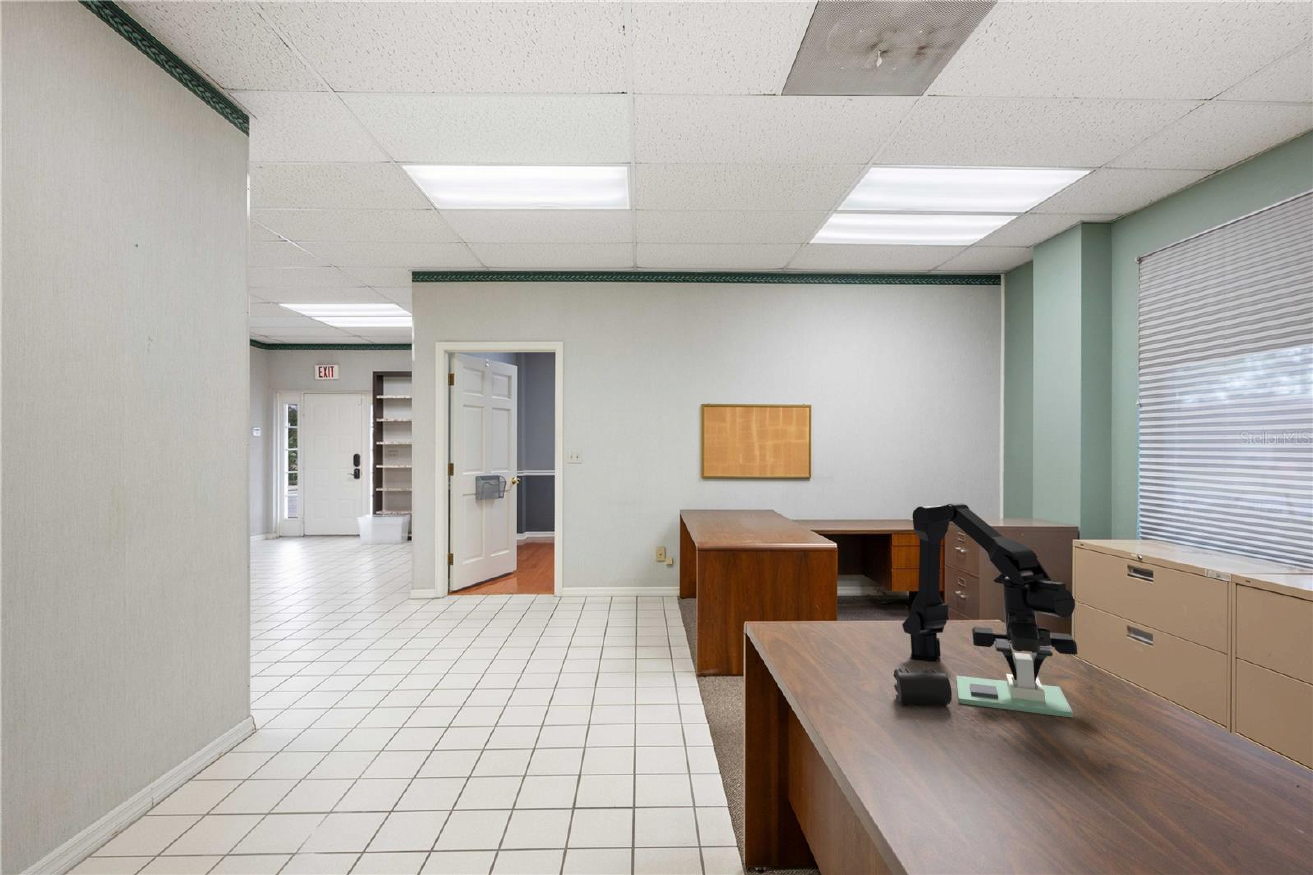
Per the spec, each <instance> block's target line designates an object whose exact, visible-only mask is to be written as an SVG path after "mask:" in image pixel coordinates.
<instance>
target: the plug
mask: <svg viewBox="0 0 1313 875" xmlns="http://www.w3.org/2000/svg"><path fill="white" fill-rule="evenodd" d="M1013 659H1014V664H1015V669H1016V675H1017V680H1015V682H1016V687H1018V688H1026V689H1035V682H1034V668H1033V660H1032V655H1031V653H1020V652H1013Z"/></svg>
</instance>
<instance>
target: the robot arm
mask: <svg viewBox="0 0 1313 875" xmlns="http://www.w3.org/2000/svg"><path fill="white" fill-rule="evenodd" d="M951 522H952V524H954V525H955V526H957V527H958V528H959V529H960V530H961V531H962V532H964V533H965V534H966V535H967V536H969V538H971V539H972V540H973V541H974V542H975V543H976V544H978V545H979V547H981V548H982V549H983V550H984V551H985V552H986V553H987V556H988V558H989V561H990V562H991V564H992V565H993V566H994V567H995V568H996V569H997V571H998V572H999V573H1000V574H999V575H998V576H997V577H995V578H994V579H993V582H994V583H996V584H998V585H999V584H1000V585H1002V589H1003V591H1002V592H1003V604H1004V605H1003V606H1004V608H1003V609H1004V621H1005V633H999V632H998V633H997V632H993V630H992V627H983V626H982V627H981V626H974V627H973V628H972V629H971V638H972V643H973V646H976V647H984V648H991V647H992V646H994V648H995V651H997V652H999V653H1002V655H1003V656H1004V658H1005V660H1006V661H1007V664H1008V667H1009V669H1010V671H1011V674H1012V675H1013V677H1014V679H1015V680H1017V675H1016V669H1015V664H1014V653H1013V650H1014V651H1015V652H1019V653H1020V652H1031V658H1032V660H1033V668H1034V682H1036V679H1037V677H1039V674H1040V673H1039V672H1040V669H1041V666H1042V664H1043V663H1044V661H1045V660H1046V659H1047V657H1053V652H1052V649H1053V648H1054V650H1055V651H1056V652H1058V654H1060V655H1062V654H1063V655H1072V656H1073V655H1074V656H1076V655H1078V644H1077V642H1076V640H1075V639H1074V637H1073V636H1072V635H1071V634H1069V633H1061V632H1060V633H1059V632H1051V631H1050V628H1049V627H1041V626H1040V627H1038V624H1037V614H1036V612H1037V613H1040V614H1045V615H1049V616H1053V617H1057V618H1061V619H1067V618H1069V617H1071V616H1072V615H1073V613H1074V610H1075V606H1076V600H1075V598H1074V596H1073V595H1072V592H1071V591H1070V590H1069V589H1067V587H1066V586H1067V584H1066V583H1065V582H1060V581H1058V582H1057V581H1055V582H1054V581H1052V579H1051V577H1050V576H1049V574H1048V573H1047V571H1046V570H1045V568H1044V566H1043V565H1042V564H1041V562H1040V561H1039V560H1038V556H1037V554H1036V552H1034V550H1032V549H1031V548H1029V547H1028V546H1025V545H1023V544H1022V543H1021V542H1019V541H1015V540H1013V539H1012V540H1011V539H1009V538H1006V536H1003V535H1002V534H1001V533H999V532H998V531H997V530H996V529H995V528H993V527H992V526H991V525H989V523H987V521H985V520H983V519H982V518H981V517H980V516H978V515H977V514H976V513H975V512H973V511H972V510H971V509H970V507H969V506H968V505H967V504H965V503H963V502H955V503H948V504H947V503H946V504H945V505H940V504H938V505H937V504H936V505H923V506H918V507H916V508H915V509H914V510H913V512H912V525H913V527H912V528H913V530H914V532H915V533H916V535H917V537H918V539H919V549H918V550H919V551H918V552H919V554H918V555H919V556H918V560H919V561H918V563H919V564H918V586H917V587H918V592H917V595H916V596H915V598H914V599H913V601H912V603H911V607H910V613H909V615H908V617H907V618H906V619H905V620H904V621H903V622H902V624H901V626H902V629H903V632H904V633H905V634H908V635H909V636H910V649H911V650H910V651H911V652H910V658H911V659H913V660H914V659H915V660H923V661H931V662H932V661H933V662H939V660H940V657H941V643H940V642H941V640H940V637H938V634H942V633H943V632H944V631H945V630H944V629H945V626H946V624H947V621H949V608H950V607H949V605H948V604H947V603H944V601H943V600H942V598H941V596H940V592H941V591H940V588H941V587H940V585H941V557H942V556H941V555H942V554H941V553H942V552H941V551H942V549H941V548H942V540H943V539H944V538H945V536H946V535H947V532H948V530H949V525H950V523H951Z"/></svg>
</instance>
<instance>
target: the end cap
mask: <svg viewBox="0 0 1313 875" xmlns="http://www.w3.org/2000/svg"><path fill="white" fill-rule="evenodd" d="M921 671H922V672H912V671H910V669H908V668H896V669H894V670H893V677H894V679H895V681H896V683H894V685H893V687H894V691H895V692H896V694H895V697H896V700H897V702H898V703H899V704H900V705H901V706H921V707H923V706H927V707H931V706H932V707H946V706H948V705H949V704H950V703H951V702H952V699H953V694H952V686H951V681H950V678H949V677H948V675H947V673H946V672H939V671H938V670H936V669H934V668H931V669H930V668H929V669H927V668H924V669H923V668H922V670H921Z"/></svg>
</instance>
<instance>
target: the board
mask: <svg viewBox="0 0 1313 875" xmlns="http://www.w3.org/2000/svg"><path fill="white" fill-rule="evenodd" d="M1005 675H1006V680H999V679H990V678H982V677H972V676H964V675H962V676H961V675H956V685H957V686H956V687H957V698H958V704H962V705H963V704H964V705H970V706H980V707H986V708H987V707H988V708H995V709H1000V710H1001V709H1003V710H1010V711H1019V712H1026V713H1034V714H1041V715H1048V716H1049V715H1050V716H1057V717H1058V716H1059V717H1063V718H1064V717H1066V718H1074V712H1073V709H1072V708H1071V706H1070V704H1069V702H1068V700H1067V699H1066V696H1065V695H1064V693H1063V691H1062V689H1061V687H1060V686H1056V685H1045V684H1042V683H1041V681H1040V678H1039V676H1037V679H1036V682H1035V689H1026V688H1018V687H1016V682H1015V679H1014V677H1013V674H1012V673H1005Z"/></svg>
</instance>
